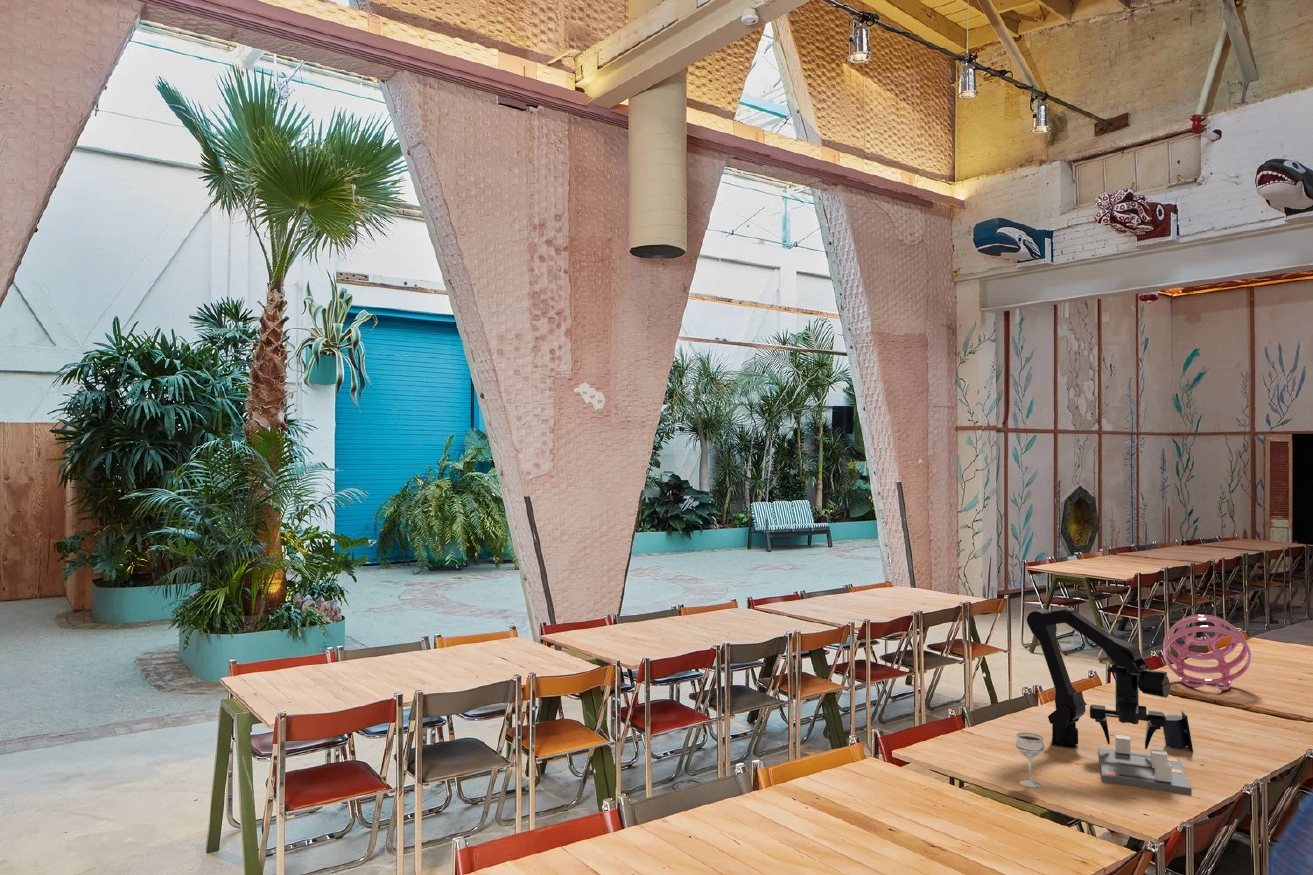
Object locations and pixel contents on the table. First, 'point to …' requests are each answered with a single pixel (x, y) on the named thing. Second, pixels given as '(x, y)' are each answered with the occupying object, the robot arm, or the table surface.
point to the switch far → (1123, 744)
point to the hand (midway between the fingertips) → (1127, 746)
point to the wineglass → (1029, 751)
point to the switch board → (1140, 771)
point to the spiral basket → (1216, 654)
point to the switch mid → (1158, 756)
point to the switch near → (1163, 771)
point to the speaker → (1177, 732)
